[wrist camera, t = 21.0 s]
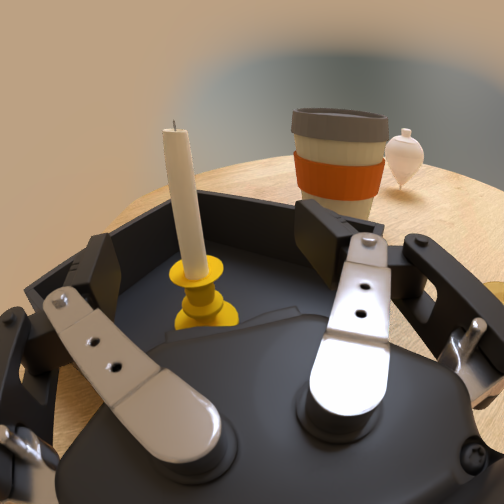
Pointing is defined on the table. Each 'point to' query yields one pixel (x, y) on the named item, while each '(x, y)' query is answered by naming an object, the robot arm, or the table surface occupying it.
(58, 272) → the bin
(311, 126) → the reusable coffee cup
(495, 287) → the cup
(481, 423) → the table surface
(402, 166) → the spinning top
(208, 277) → the candle
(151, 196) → the table surface
